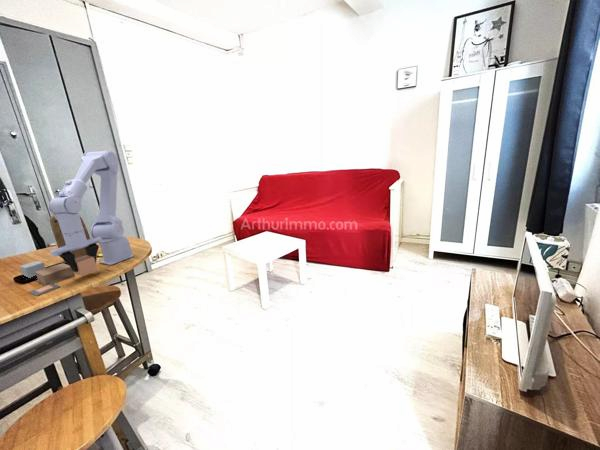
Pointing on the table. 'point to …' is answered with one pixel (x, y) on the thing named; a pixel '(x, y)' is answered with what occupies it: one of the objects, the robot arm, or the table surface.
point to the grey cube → (31, 268)
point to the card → (44, 289)
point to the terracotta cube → (85, 265)
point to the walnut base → (54, 274)
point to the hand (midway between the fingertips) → (85, 267)
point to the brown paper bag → (60, 238)
